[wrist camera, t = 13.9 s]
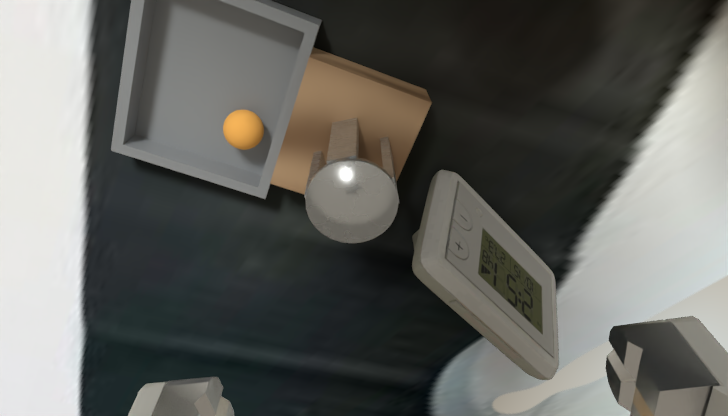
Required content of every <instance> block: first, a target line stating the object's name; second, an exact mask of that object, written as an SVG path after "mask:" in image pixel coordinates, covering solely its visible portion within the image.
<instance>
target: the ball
mask: <svg viewBox="0 0 728 416" xmlns="http://www.w3.org/2000/svg"><path fill="white" fill-rule="evenodd" d="M223 133H224V136H225V138H226V140H227V141H228V143H229V144H230V145H232V146H233V147H235V148H237V149H242V150H247V149H251V148H253V147H255V146H256V145H258V144H259V143H260V141H261V140H262V138H263V134H264V126H263V123H262V121H261V119H260V118H259V117H258V116H257V115H256V114H255V113H254V112H252V111H249V110H243V109H242V110H236V111H234V112H232V113H231V114H229V115H228V117H227V118H226V119H225V121H224V125H223Z"/></svg>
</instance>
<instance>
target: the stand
mask: <svg viewBox="0 0 728 416" xmlns="http://www.w3.org/2000/svg"><path fill="white" fill-rule="evenodd" d="M431 104H432V102H431V100H430V98H429V95H428V93H427V91H426V89H423V88H421V87H418V86H415V85H413V84H410V83H407V82H405V81H402V80H399V79H397V78H394V77H391V76H389V75H386V74H383V73H381V72H378V71H375V70H373V69H370V68H367V67H365V66H362V65H359V64H357V63H354V62H352V61H349V60H346V59H344V58H341V57H338V56H336V55H333V54H330V53H328V52H325V51H322V50H320V49H317V48H314V47H313V50H312V52H311V54H310V57H309V60H308V63H307V66H306V69H305V72H304V76H303V79H302V82H301V85H300V88H299V92H298V95H297V98H296V101H295V104H294V108H293V111H292V114H291V117H290V121H289V124H288V127H287V130H286V133H285V137H284V140H283V143H282V146H281V149H280V153H279V156H278V159H277V162H276V165H275V169H274V172H273V175H272V178H271V181H270V184H273V185H276V186H280V187H283V188H286V189H289V190H292V191H295V192H298V193H301V194H305V190H306V185H307V181H308V176H309V171H310V167H311V162H312V158H313V153H314V152H318V151H322V154H323V158H324V161H325V165H326V164H327V162H326V161H327V154H328V148H329V141H330V135H331V128H332V123H333V122H338V121H343V120H347V119H352V118H356V117H357V120H358V124H359V150H358V158H362V159H366V160H369V161H372V162H374V163H376V164H378V165H379V166H381V167H382V168H383V162H382V152H381V142H380V138H384V137H388V138H389V143H390V147H391V152H392V157H393V163H394V170H395V176H396V182H397V180H398V177H399V175H400V173H401V171H402V168H403V166H404V164H405V162H406V160H407V157H408V155H409V153H410V151H411V148H412V146H413V144H414V142H415V139H416V137H417V135H418V133H419V130H420V128H421V126H422V124H423V121H424V119H425V117H426V115H427V113H428V110H429V108H430V106H431Z"/></svg>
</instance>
